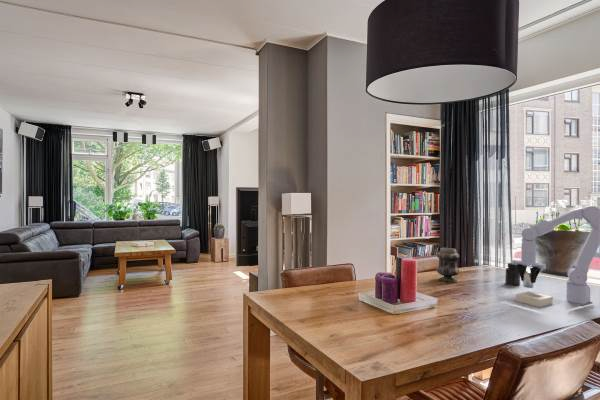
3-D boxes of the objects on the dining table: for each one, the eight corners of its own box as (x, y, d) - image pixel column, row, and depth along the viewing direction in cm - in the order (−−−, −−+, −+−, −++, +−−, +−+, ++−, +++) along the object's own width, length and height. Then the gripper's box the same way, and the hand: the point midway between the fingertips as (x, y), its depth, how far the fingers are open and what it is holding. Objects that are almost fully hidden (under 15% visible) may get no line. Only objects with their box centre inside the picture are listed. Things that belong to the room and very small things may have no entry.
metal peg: (526, 285, 174) (526, 270, 174) (535, 287, 170) (535, 272, 170) (521, 286, 172) (521, 271, 172) (530, 288, 168) (530, 273, 168)
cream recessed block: (524, 294, 176) (524, 285, 176) (565, 303, 161) (565, 294, 161) (499, 299, 167) (499, 290, 167) (541, 310, 151) (541, 300, 151)
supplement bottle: (519, 288, 188) (519, 265, 187) (504, 286, 192) (504, 263, 192) (520, 285, 193) (521, 263, 193) (506, 283, 197) (506, 262, 197)
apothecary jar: (460, 279, 206) (461, 248, 206) (457, 284, 196) (457, 250, 196) (438, 277, 213) (438, 246, 212) (434, 281, 202) (434, 249, 202)
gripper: (508, 251, 175) (508, 279, 175) (540, 255, 163) (540, 286, 163) (516, 250, 179) (516, 278, 179) (548, 254, 166) (548, 284, 166)
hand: (528, 281), depth 171 cm, fingers closed on metal peg, 4 cm apart
